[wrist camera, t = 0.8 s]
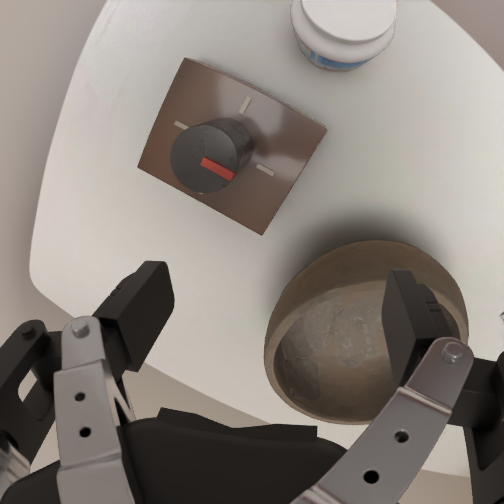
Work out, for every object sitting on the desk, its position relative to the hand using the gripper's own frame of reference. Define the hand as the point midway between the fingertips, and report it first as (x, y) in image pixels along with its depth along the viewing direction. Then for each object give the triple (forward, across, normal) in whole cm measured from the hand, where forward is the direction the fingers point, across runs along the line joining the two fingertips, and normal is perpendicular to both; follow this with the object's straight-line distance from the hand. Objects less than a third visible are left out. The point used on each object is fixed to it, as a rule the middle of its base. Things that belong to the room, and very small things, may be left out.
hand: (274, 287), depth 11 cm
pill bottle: (+18, -4, -11) cm, 21 cm away
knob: (+14, +5, -3) cm, 15 cm away
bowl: (+17, -7, +13) cm, 22 cm away
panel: (+17, +5, -3) cm, 18 cm away
